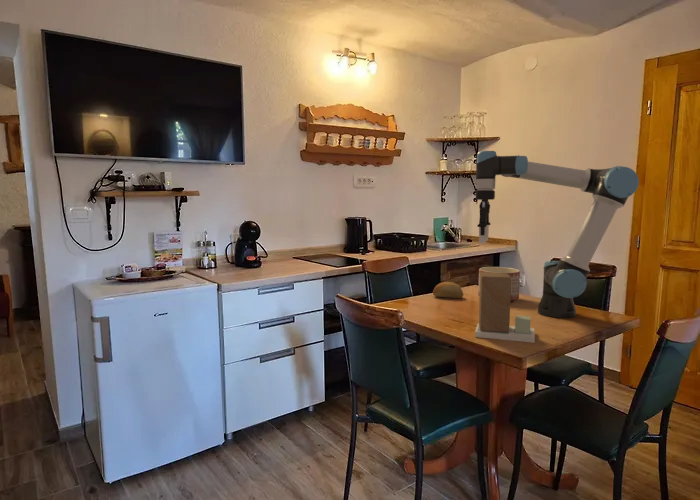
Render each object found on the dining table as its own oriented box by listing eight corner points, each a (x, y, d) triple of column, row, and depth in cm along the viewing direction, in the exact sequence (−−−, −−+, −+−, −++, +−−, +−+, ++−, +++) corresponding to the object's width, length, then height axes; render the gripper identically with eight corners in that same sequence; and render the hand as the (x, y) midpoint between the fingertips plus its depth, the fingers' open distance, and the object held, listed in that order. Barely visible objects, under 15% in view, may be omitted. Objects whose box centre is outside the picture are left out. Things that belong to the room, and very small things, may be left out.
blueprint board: (533, 333, 171) (533, 327, 171) (534, 342, 160) (534, 336, 160) (477, 328, 178) (477, 322, 178) (474, 336, 167) (474, 331, 167)
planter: (524, 298, 230) (526, 269, 229) (509, 305, 216) (510, 274, 214) (488, 293, 243) (489, 265, 241) (471, 299, 229) (472, 269, 227)
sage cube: (529, 329, 168) (530, 316, 168) (529, 333, 164) (530, 319, 163) (515, 328, 170) (515, 315, 169) (514, 332, 165) (515, 318, 165)
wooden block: (509, 333, 164) (511, 277, 162) (480, 331, 166) (481, 276, 164) (506, 325, 174) (508, 272, 172) (478, 324, 176) (480, 271, 174)
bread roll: (433, 294, 240) (433, 279, 239) (463, 296, 236) (463, 280, 236) (431, 298, 231) (432, 282, 230) (462, 300, 227) (463, 284, 226)
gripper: (478, 190, 201) (476, 239, 203) (472, 189, 178) (471, 244, 180) (496, 190, 198) (494, 239, 201) (493, 189, 175) (491, 245, 177)
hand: (483, 242), depth 190 cm, fingers open, 13 cm apart
